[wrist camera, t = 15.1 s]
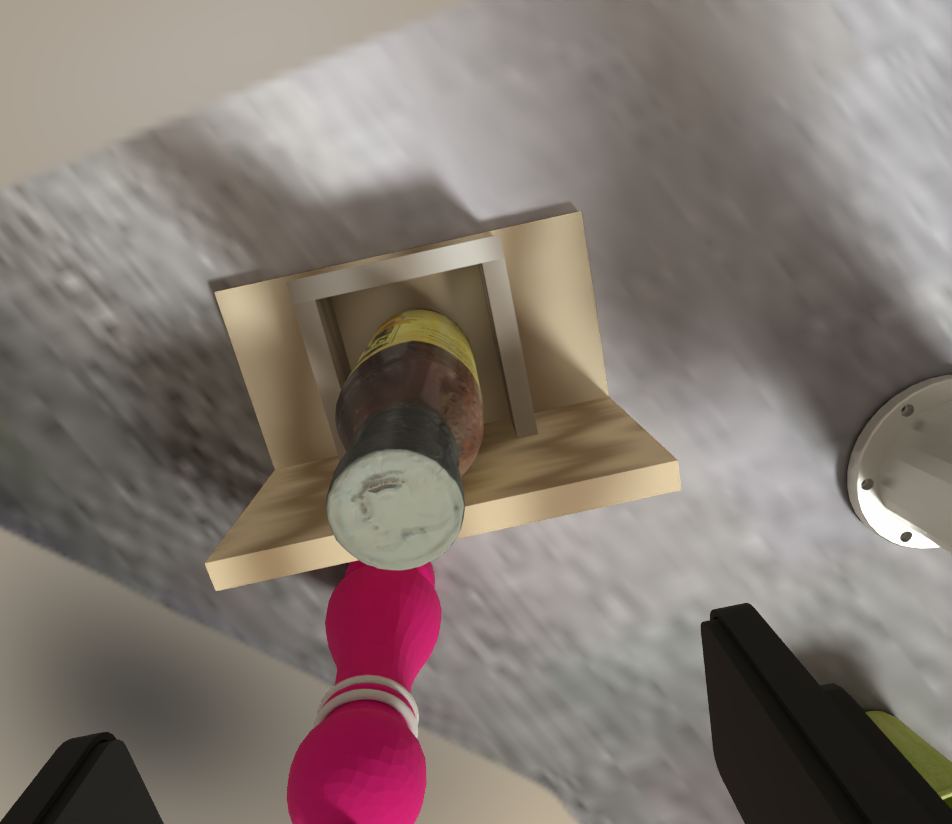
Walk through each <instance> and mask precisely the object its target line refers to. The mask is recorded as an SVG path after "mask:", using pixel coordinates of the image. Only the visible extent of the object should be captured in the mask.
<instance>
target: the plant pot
mask: <svg viewBox="0 0 952 824" xmlns="http://www.w3.org/2000/svg"><path fill="white" fill-rule="evenodd" d="M865 713H866V714H867V715H868V716H869V717H870V718H871V719H872V721H873V722H874V723H875V724H876V725H877V726H878V727H879V728H880V729H881V731H882V732H883V733H884V734H885V735H886V736H887V737H888V738H889V740H890V741H891V742H892V743H893V744H894V745H895V746H896V747H897V749H898V750H899V751H900V752H901V753H902V754H903V755H904V756H905V758H906V759H907V760H908V761H909V762H910V763H911V764H912V765H913V767H914V768H915V769H916V770H917V771H918V772H919V773H920V774H921V776H922V777H923V778H924V779H925V780H926V781H927V782H928V783H929V785H930V786H931V787H932V788H933V789H934V790H935V791H936V792H937V794H938V795H939V796H940V797H941V798H942V799H943V800H944V801H945V802H946V804H947V805H948V806H949V807H950V808H951V809H952V762H951V761H950V760H948V759H947V758H946V757H945V756H943V755H942V754H941V753H939V752H938V751H937V750H936V749H934V748H933V747H932V746H931V745H929V744H928V743H927V742H926V741H924V740H923V739H922V738H921V737H920V736H918V735H917V734H916V733H915V732H914V731H912V730H911V729H910V728H909V727H907V726H906V725H905V724H904V723H902V722H901V721H900V720H899V719H898V718H896V717H894V716H892V715H890V714H887V713H885V712H883V711H867V712H865Z"/></svg>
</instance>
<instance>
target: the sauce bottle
mask: <svg viewBox="0 0 952 824" xmlns="http://www.w3.org/2000/svg"><path fill="white" fill-rule="evenodd" d="M482 412H483V402H482V396H481V390H480V385H479V380H478V375H477V370H476V364H475V360H474V356H473V351H472V347H471V345H470V342H469V339H468V338H467V336H466V334H465V333H464V332H463V330H462V329H461V328H460V327H459V326H458V324H457V323H455V322H454V321H452V320H451V319H449V318H448V317H446V316H445V315H443V314H441V313H439V312H437V311H434V310H431V309H421V308H417V309H414V310H409V311H405V312H402V313H399V314H397V315H394V316H392V317H391V318H389V319H388V320H387V321H386V322H385V323H383V324H382V325H381V326H380V328H379V329H378V330H377V331H376V333H375V334H374V336H373V338H372V339H371V341H370V342H369V344H368V345H367V347H366V349H365V350H364V352H363V353H362V355H361V356H360V358H359V359H358V361H357V363H356V365H355V367H354V368H353V370H352V371H351V373H350V374H349V376H348V378H347V380H346V382H345V384H344V386H343V387H342V389H341V391H340V394H339V397H338V400H337V403H336V410H335V423H336V428H337V432H338V435H339V438H340V440H341V442H342V444H343V446H344V448H345V450H346V454H345V455H344V456H343V457H342V458H341V459H340V461H339V463H338V466H337V467H336V469H335V471H334V474H333V478H332V481H331V484H330V487H329V490H328V493H327V498H326V513H327V520H328V523H329V525H330V528H331V530H332V532H333V534H334V536H335V539H336V541H337V542H338V543H339V544H340V545H341V546H342V547H343V548H344V549H345V550H346V551H347V552H349V553H350V554H351V555H352V556H354V557H355V558H357V559H358V560H360V561H361V562H363V563H365V564H367V565H370V566H374V567H376V568H378V569H386V570H408V569H412V568H416V567H420V566H422V565H424V564H426V563H428V562H431V561H434V560H436V559H437V558H438V557H439V556H440V555H442V554H443V553H445V552H446V551H447V550H448V548H449V547H450V546H451V545H452V544H453V542H454V541H455V539H456V538H457V536H458V534H459V532H460V530H461V527H462V523H463V519H464V511H465V499H464V489H463V482H462V480H461V477H462V476H463V474H465V472H466V471H467V470H468V468H470V466H471V464H472V463H473V461H474V460H475V458H476V455H477V454H478V451H479V449H480V446H481V442H482V439H483V430H484V424H483V420H484V419H483V415H482Z"/></svg>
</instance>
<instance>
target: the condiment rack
mask: <svg viewBox="0 0 952 824" xmlns="http://www.w3.org/2000/svg"><path fill="white" fill-rule="evenodd" d="M214 293H215V296H216V299H217V302H218V305H219V308H220V311H221V313H222V316H223V319H224V322H225V325H226V328H227V331H228V334H229V337H230V340H231V343H232V346H233V349H234V352H235V354H236V357H237V360H238V363H239V366H240V369H241V372H242V375H243V378H244V381H245V384H246V387H247V390H248V393H249V395H250V398H251V401H252V404H253V407H254V410H255V413H256V416H257V419H258V422H259V425H260V428H261V431H262V434H263V437H264V439H265V442H266V445H267V448H268V451H269V454H270V457H271V460H272V463H273V466H274V469H275V470H274V472H273V473H272V474H271V476H270V477H269V478H268V480H267V481H266V482H265V484H264V485H263V486H262V488H261V489H260V490H259V492H258V493H257V494H256V496H255V497H254V498H253V500H252V501H251V502H250V504H249V505H248V506H247V508H246V509H245V510H244V512H243V513H242V514H241V516H240V517H239V518H238V520H237V521H236V522H235V524H234V525H233V526H232V528H231V529H230V530H229V532H228V533H227V534H226V536H225V537H224V538H223V540H222V541H221V542H220V544H219V545H218V546H217V548H216V549H215V550H214V552H213V553H212V554H211V556H210V557H209V558H208V560H207V561H206V562H205V565H206V568H207V570H208V573H209V575H210V578H211V580H212V583H213V585H214V588H215V590H216V591H219V590H224V589H228V588H233V587H237V586H242V585H247V584H251V583H256V582H260V581H265V580H270V579H274V578H279V577H283V576H288V575H293V574H297V573H302V572H306V571H311V570H316V569H320V568H325V567H329V566H334V565H339V564H343V563H348V562H352V561H357V560H358V559H357V558H355V557H354V556H352V555H351V554H350V553H349V552H347V551H346V550H345V549H344V548H343V547H342V546H341V545H340V544H339V543H338V542H337V541H336V539H335V536H334V534H333V532H332V530H331V528H330V525H329V523H328V520H327V513H326V498H327V493H328V490H329V487H330V484H331V481H332V478H333V474H334V471H335V469H336V467H337V466H338V463H339V461H340V459H341V458H342V457H343V456H344V455H345V454H346V450H345V448H344V446H343V444H342V442H341V440H340V438H339V435H338V432H337V428H336V423H335V410H336V403H337V400H338V397H339V394H340V391H341V389H342V387H343V386H344V384H345V382H346V380H347V378H348V376H349V374H350V373H351V371H352V370H353V368H354V367H355V365H356V363H357V361H358V359H359V358H360V356H361V355H362V353H363V352H364V350H365V349H366V347H367V345H368V344H369V342H370V341H371V339H372V338H373V336H374V334H375V333H376V331H377V330H378V329H379V328H380V326H381V325H382V324H383V323H385V322H386V321H387V320H388V319H389V318H391V317H392V316H394V315H397V314H399V313H402V312H405V311H409V310H414V309H417V308H421V309H431V310H434V311H437V312H439V313H441V314H443V315H445V316H446V317H448V318H449V319H451V320H452V321H454V322H455V323H457V324H458V326H459V327H460V328H461V329H462V330H463V332H464V333H465V334H466V336H467V338H468V339H469V342H470V345H471V347H472V351H473V356H474V360H475V364H476V370H477V375H478V380H479V385H480V390H481V396H482V402H483V412H482V415H483V419H484V420H483V424H484V430H483V439H482V442H481V446H480V449H479V451H478V454H477V455H476V458H475V460H474V461H473V463H472V464H471V466H470V468H468V470H467V471H466V472H465V474H463V476H462V477H461V480H462V482H463V489H464V499H465V511H464V519H463V523H462V527H461V530H460V532H459V534H458V536H457V538H456V539H458V538H463V537H467V536H472V535H477V534H481V533H486V532H490V531H495V530H500V529H504V528H509V527H513V526H518V525H523V524H527V523H532V522H536V521H541V520H546V519H550V518H555V517H559V516H564V515H569V514H573V513H578V512H582V511H587V510H592V509H596V508H601V507H605V506H610V505H615V504H619V503H624V502H628V501H633V500H638V499H642V498H647V497H651V496H656V495H661V494H665V493H670V492H674V491H679V490H681V483H680V474H679V465H678V460H677V459H676V458H675V457H674V456H673V455H672V454H671V453H669V452H668V451H667V450H666V449H665V448H664V447H663V446H662V445H661V444H660V443H659V442H658V441H656V440H655V439H654V438H653V437H652V436H651V435H650V434H649V433H648V432H647V431H646V430H645V429H643V428H642V427H641V426H640V425H639V424H638V423H637V422H636V421H635V420H634V419H633V418H631V417H630V416H629V415H628V414H627V413H626V412H625V411H624V410H623V409H622V408H621V407H620V406H618V405H617V404H616V403H615V402H614V401H613V400H612V399H611V398H610V397H609V394H608V387H607V380H606V374H605V367H604V360H603V353H602V347H601V340H600V333H599V326H598V320H597V313H596V306H595V299H594V293H593V286H592V279H591V272H590V266H589V259H588V252H587V245H586V239H585V232H584V225H583V218H582V212H581V211H578V212H574V213H569V214H565V215H560V216H556V217H551V218H547V219H542V220H537V221H533V222H528V223H524V224H519V225H515V226H510V227H506V228H501V229H497V230H492V231H488V232H483V233H479V234H474V235H470V236H465V237H461V238H456V239H452V240H447V241H443V242H438V243H434V244H429V245H425V246H420V247H416V248H411V249H407V250H402V251H398V252H393V253H389V254H384V255H380V256H375V257H370V258H366V259H361V260H357V261H352V262H348V263H343V264H339V265H334V266H330V267H325V268H321V269H316V270H312V271H307V272H303V273H298V274H294V275H289V276H285V277H280V278H276V279H271V280H267V281H262V282H258V283H253V284H249V285H244V286H240V287H235V288H231V289H226V290H222V291H217V292H214Z"/></svg>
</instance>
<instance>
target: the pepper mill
mask: <svg viewBox="0 0 952 824" xmlns="http://www.w3.org/2000/svg"><path fill="white" fill-rule="evenodd" d="M440 623H441V606H440V601H439V598H438V595H437V593H436V591H435V577H434V571H433V567H432V565H431V563H430V562H428V563H426V564H424V565H422V566H420V567H416V568H412V569H408V570H386V569H378V568H376V567H374V566H370V565H367V564H365V563H363V562H361V561H360V560H357V561H352V562H350V563H349V565H348V567H347V570H346V574H345V577H344V578H343V579H342V580H341V581H340V582H339V584H338V585H337V587H336V588H335V590H334V591H333V593H332V595H331V598H330V600H329V604H328V608H327V615H326V621H325V625H326V635H327V640H328V646H329V649H330V652H331V655H332V657H333V660H334V662H335V664H336V667H337V675H336V682H335V686H334V687H333V688H331V689H330V690H329V691H328V692H327V693H326V694H325V696H324V697H323V699H322V700H321V703H320V705H319V708H318V713H317V718H316V720H315V723H314V727H313V729H312V730H311V731H310V732H309V734H308V735H307V736H306V738H305V739H304V740H303V742H302V743H301V744H300V746H299V748H298V750H297V752H296V754H295V757H294V759H293V762H292V764H291V768H290V773H289V779H288V786H287V803H288V810H289V814H290V817H291V820H292V823H293V824H414V822H415V821H416V819H417V817H418V815H419V813H420V810H421V807H422V803H423V799H424V793H425V788H426V763H425V756H424V754H423V751H422V749H421V746H420V744H419V741H418V740H417V737H418V721H419V714H418V707H417V705H416V702H415V700H414V698H413V697H412V695H411V694H410V691H411V686H412V683H413V681H414V679H415V677H416V676H417V674H418V672H419V671H420V669H421V668H422V667H423V665H424V664H425V663H426V661H427V660H428V658H429V657H430V655H431V653H432V651H433V648H434V646H435V644H436V641H437V638H438V636H439V630H440Z"/></svg>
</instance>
